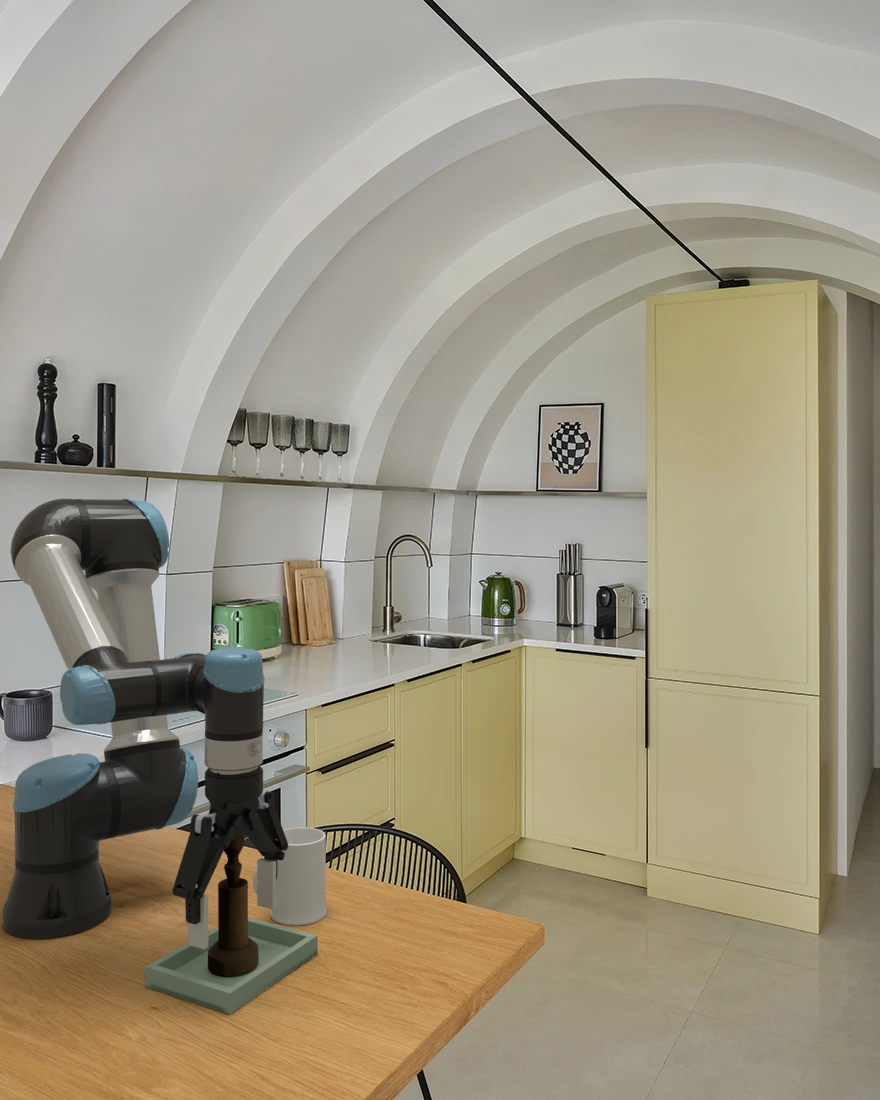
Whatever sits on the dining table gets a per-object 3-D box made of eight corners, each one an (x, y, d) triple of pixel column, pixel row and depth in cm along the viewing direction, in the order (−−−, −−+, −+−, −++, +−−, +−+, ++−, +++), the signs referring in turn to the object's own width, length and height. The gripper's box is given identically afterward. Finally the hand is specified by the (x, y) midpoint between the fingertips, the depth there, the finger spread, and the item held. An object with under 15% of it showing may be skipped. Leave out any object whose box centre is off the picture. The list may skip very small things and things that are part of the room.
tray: (145, 986, 120) (145, 966, 120) (238, 932, 136) (238, 914, 135) (230, 1014, 113) (230, 993, 113) (317, 953, 129) (317, 935, 129)
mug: (262, 936, 134) (262, 853, 134) (241, 914, 142) (241, 836, 141) (336, 917, 141) (336, 838, 140) (312, 898, 148) (312, 823, 148)
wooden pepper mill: (238, 949, 129) (237, 820, 128) (268, 964, 125) (268, 830, 124) (197, 967, 124) (197, 832, 123) (228, 982, 120) (227, 843, 119)
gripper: (188, 795, 111) (188, 972, 111) (313, 749, 133) (312, 897, 133) (142, 786, 114) (142, 957, 115) (271, 743, 136) (270, 887, 137)
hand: (234, 925), depth 124 cm, fingers open, 13 cm apart
